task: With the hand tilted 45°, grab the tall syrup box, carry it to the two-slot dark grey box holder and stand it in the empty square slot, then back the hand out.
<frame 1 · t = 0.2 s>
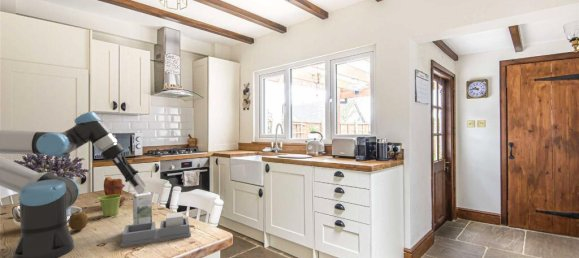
hand: (143, 189, 118), 16 cm above the table, tool tilted 35°, fingers open, 13 cm apart
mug: (113, 205, 154), on the table
plant pot: (110, 215, 137), on the table
supplement tub: (57, 222, 128), on the table
grey box holder: (157, 236, 109), on the table
fruit: (78, 231, 117), on the table
syrup box: (142, 229, 117), on the table
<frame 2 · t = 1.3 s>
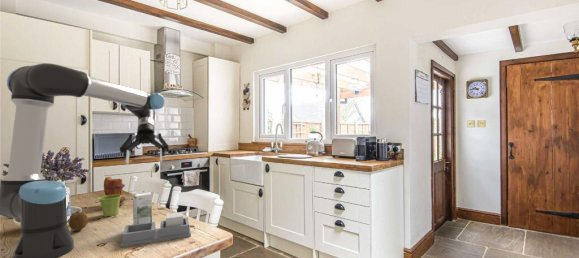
hand: (144, 162, 129), 26 cm above the table, tool tilted 45°, fingers open, 13 cm apart
nothing on the table moved.
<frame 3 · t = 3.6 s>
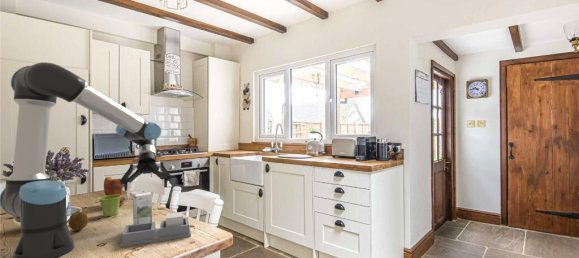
hand: (146, 195, 123), 12 cm above the table, tool tilted 45°, fingers open, 13 cm apart
nothing on the table moved.
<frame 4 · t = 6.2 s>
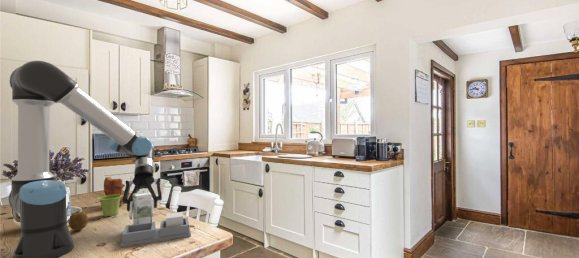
hand: (141, 216, 114), 6 cm above the table, tool tilted 45°, fingers closed on syrup box, 7 cm apart
syrup box: (142, 229, 117), on the table, touching gripper
everything else where it was.
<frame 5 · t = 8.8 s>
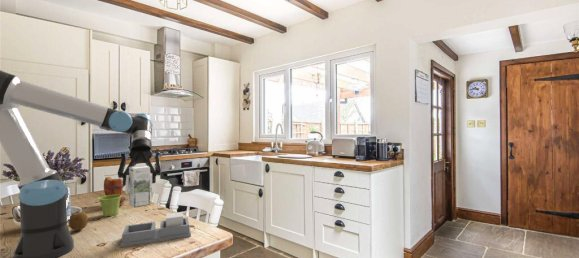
hand: (139, 190, 104), 18 cm above the table, tool tilted 45°, fingers closed on syrup box, 7 cm apart
syrup box: (140, 205, 107), point 12 cm above the table, touching gripper
everything else where it was.
when the fingers open (8 cm above the table, at t = 11.7 s): syrup box drops 1 cm, resting on grey box holder.
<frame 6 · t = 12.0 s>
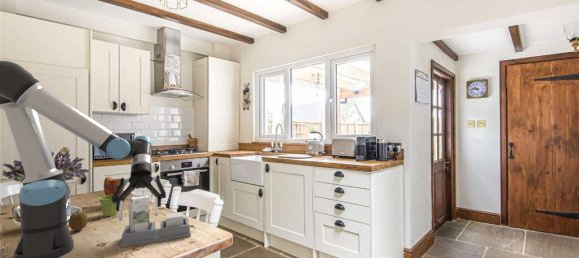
hand: (138, 216, 104), 9 cm above the table, tool tilted 45°, fingers open, 11 cm apart
syrup box: (139, 236, 106), point 1 cm above the table, touching grey box holder
everything else where it was.
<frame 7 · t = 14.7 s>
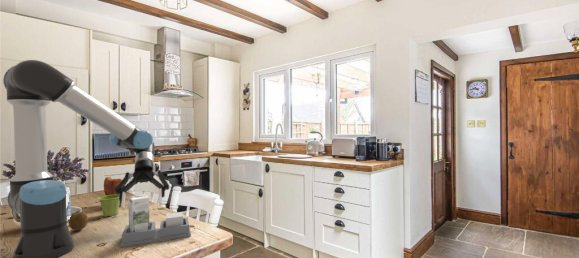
hand: (142, 205, 116), 10 cm above the table, tool tilted 45°, fingers open, 13 cm apart
nothing on the table moved.
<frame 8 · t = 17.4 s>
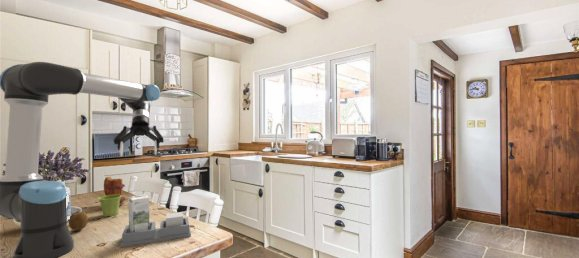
hand: (138, 153, 127), 30 cm above the table, tool tilted 45°, fingers open, 13 cm apart
nothing on the table moved.
at the end: syrup box 0.1 cm from the target spot on the grey box holder, point 1.0 cm above the grey box holder's base; syrup box tilted 0°; the gripper is holding nothing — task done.
